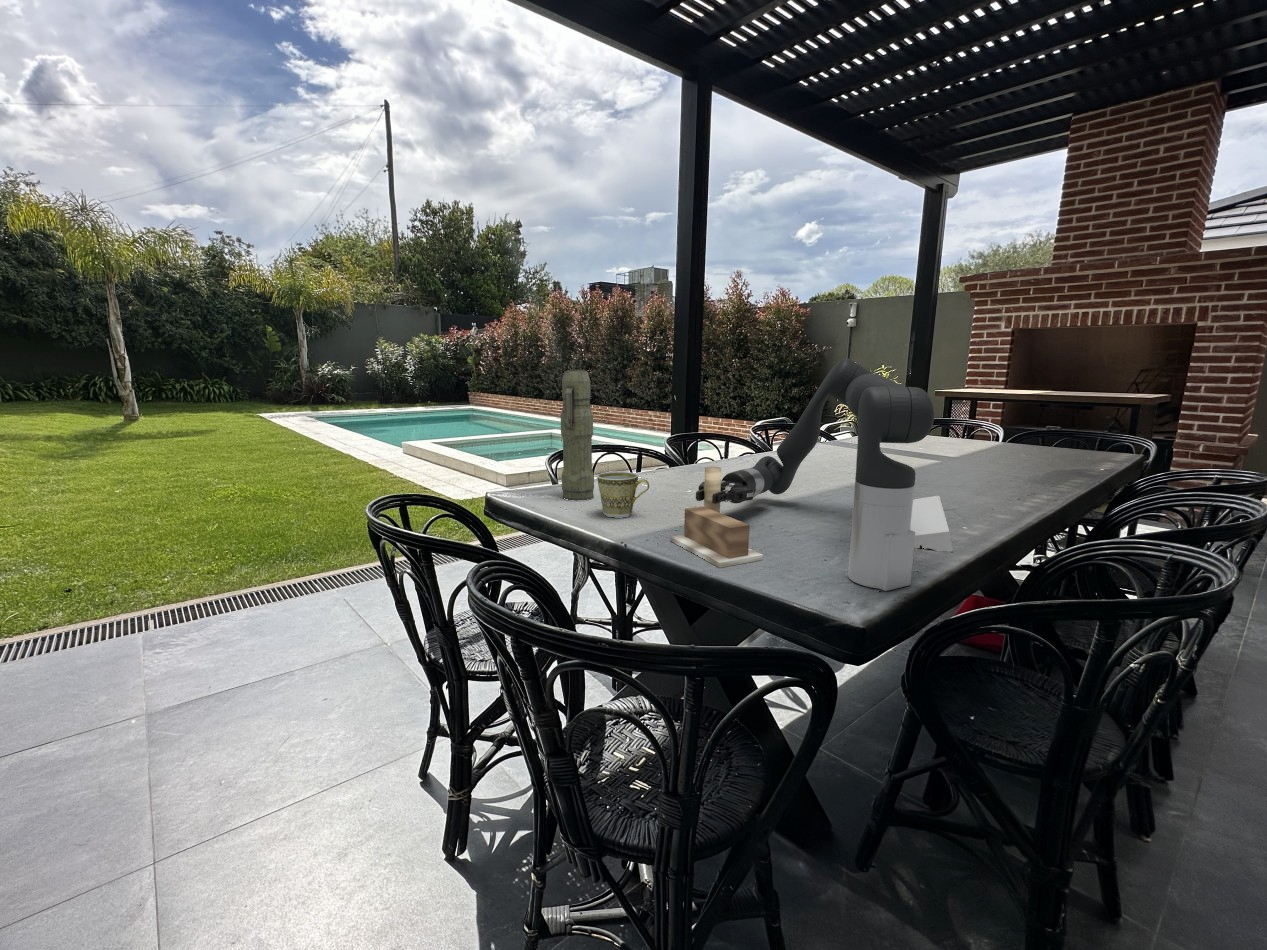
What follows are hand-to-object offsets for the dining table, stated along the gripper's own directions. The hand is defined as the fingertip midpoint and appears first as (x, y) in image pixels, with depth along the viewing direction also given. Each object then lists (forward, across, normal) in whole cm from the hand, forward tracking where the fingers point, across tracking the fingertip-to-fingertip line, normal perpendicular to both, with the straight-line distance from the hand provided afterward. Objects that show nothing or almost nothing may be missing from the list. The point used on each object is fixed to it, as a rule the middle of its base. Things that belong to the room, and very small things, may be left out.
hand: (705, 497), depth 128 cm
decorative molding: (-34, +37, +9) cm, 51 cm away
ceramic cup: (+1, -23, +8) cm, 24 cm away
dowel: (-3, 0, +8) cm, 8 cm away
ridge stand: (+10, +8, +8) cm, 15 cm away
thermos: (-6, -45, +8) cm, 46 cm away
